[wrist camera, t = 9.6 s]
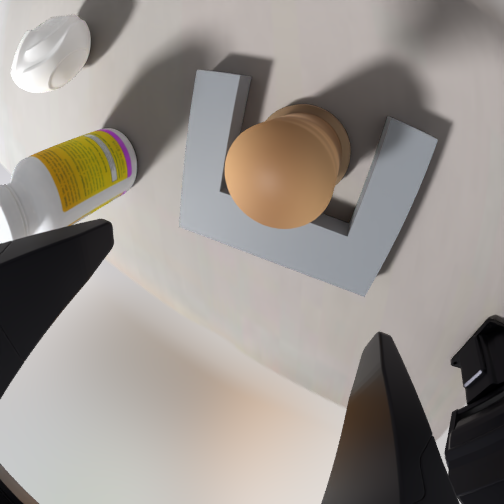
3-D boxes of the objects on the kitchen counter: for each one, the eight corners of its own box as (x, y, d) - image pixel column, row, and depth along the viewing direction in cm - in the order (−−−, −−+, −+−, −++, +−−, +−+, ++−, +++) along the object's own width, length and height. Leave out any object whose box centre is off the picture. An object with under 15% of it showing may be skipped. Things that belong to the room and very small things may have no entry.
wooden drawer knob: (361, 121, 16) (365, 135, 10) (334, 203, 19) (321, 256, 13) (271, 94, 17) (225, 96, 11) (253, 175, 20) (207, 214, 15)
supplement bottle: (104, 113, 21) (-21, 159, 11) (150, 152, 22) (19, 219, 12) (86, 167, 25) (-15, 224, 15) (126, 206, 26) (23, 280, 16)
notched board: (430, 134, 14) (438, 139, 13) (365, 280, 21) (364, 296, 20) (211, 70, 17) (196, 69, 15) (191, 216, 24) (179, 226, 22)
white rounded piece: (116, 13, 16) (43, 11, 9) (99, 90, 20) (28, 106, 14) (68, 16, 16) (6, 21, 10) (56, 81, 21) (-4, 96, 15)
